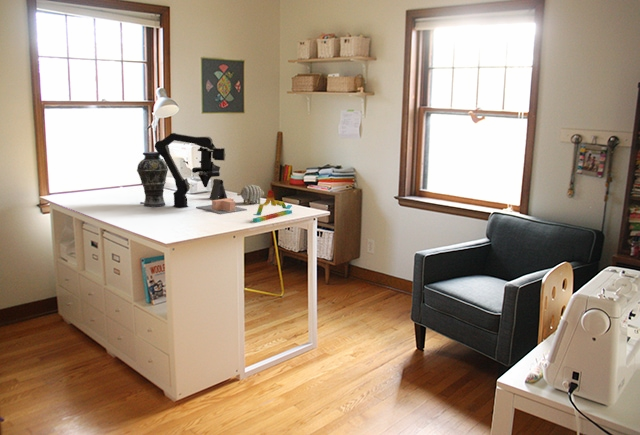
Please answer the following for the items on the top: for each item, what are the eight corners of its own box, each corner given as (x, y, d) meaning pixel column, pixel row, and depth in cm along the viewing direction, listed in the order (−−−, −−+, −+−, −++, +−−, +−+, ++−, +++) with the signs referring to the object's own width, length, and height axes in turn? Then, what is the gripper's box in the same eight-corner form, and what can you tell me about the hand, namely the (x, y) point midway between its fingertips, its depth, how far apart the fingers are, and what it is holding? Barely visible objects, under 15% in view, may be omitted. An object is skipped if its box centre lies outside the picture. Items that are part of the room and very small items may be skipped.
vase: (132, 206, 338) (129, 152, 332) (153, 201, 353) (151, 150, 347) (154, 208, 331) (151, 154, 325) (175, 204, 346) (173, 152, 340)
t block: (223, 212, 325) (223, 203, 324) (212, 209, 332) (212, 200, 331) (241, 209, 333) (241, 200, 332) (229, 206, 340) (229, 198, 339)
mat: (220, 214, 322) (220, 213, 322) (196, 207, 337) (196, 206, 337) (247, 210, 334) (247, 209, 334) (222, 204, 350) (222, 203, 350)
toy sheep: (267, 203, 355) (267, 185, 353) (241, 206, 346) (241, 187, 344) (259, 200, 364) (259, 182, 362) (234, 203, 355) (233, 184, 352)
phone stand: (215, 200, 362) (215, 180, 360) (209, 199, 366) (209, 179, 364) (227, 198, 369) (227, 179, 366) (221, 197, 373) (221, 178, 370)
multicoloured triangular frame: (287, 213, 331) (287, 186, 328) (291, 213, 329) (292, 186, 326) (252, 222, 306) (252, 193, 302) (257, 223, 304) (257, 193, 301)
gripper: (228, 161, 334) (227, 188, 337) (208, 157, 346) (207, 183, 349) (211, 161, 326) (210, 190, 329) (191, 157, 338) (191, 185, 341)
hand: (205, 187), depth 337 cm, fingers closed
